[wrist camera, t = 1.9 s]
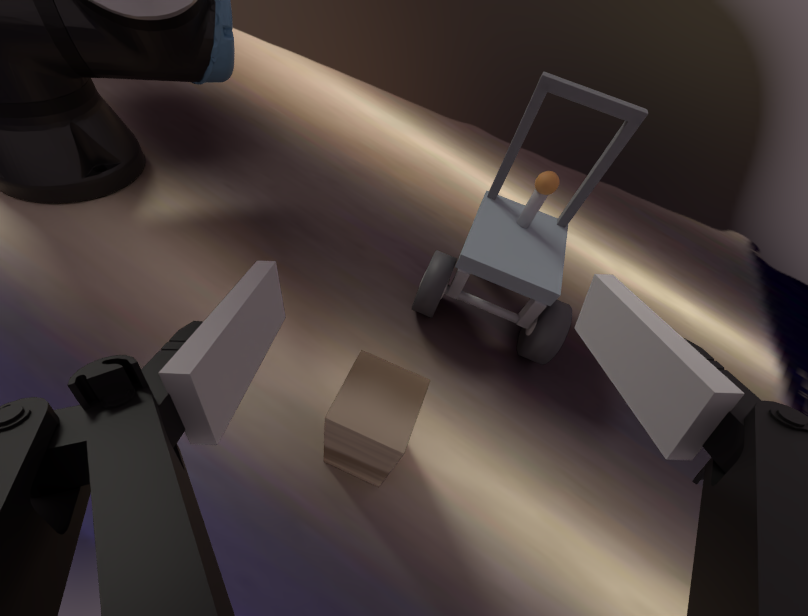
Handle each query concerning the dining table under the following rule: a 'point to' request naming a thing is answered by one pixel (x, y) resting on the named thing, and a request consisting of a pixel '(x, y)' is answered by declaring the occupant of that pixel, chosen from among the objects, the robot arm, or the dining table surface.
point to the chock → (372, 418)
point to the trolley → (527, 234)
